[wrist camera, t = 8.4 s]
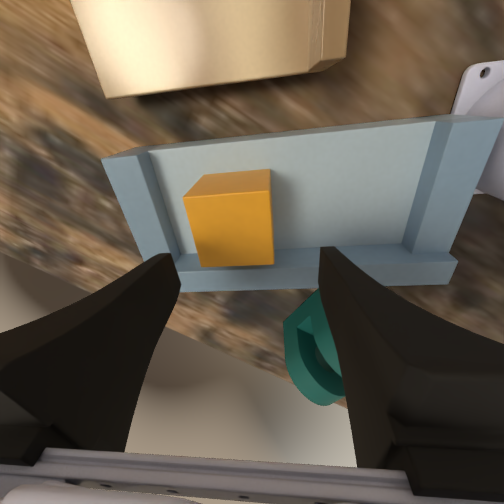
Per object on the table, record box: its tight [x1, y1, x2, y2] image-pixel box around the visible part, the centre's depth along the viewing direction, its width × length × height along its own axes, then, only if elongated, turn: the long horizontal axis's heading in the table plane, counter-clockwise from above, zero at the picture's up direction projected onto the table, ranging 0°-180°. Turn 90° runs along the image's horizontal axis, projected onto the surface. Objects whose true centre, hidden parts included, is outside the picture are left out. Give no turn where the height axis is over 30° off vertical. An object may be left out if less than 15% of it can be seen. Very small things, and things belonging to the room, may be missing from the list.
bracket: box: [283, 288, 345, 406], centre depth 24 cm, size 18×7×8 cm, turn 59°
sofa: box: [101, 114, 504, 292], centre depth 17 cm, size 22×10×6 cm, turn 96°
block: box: [183, 169, 274, 267], centre depth 15 cm, size 4×4×4 cm
